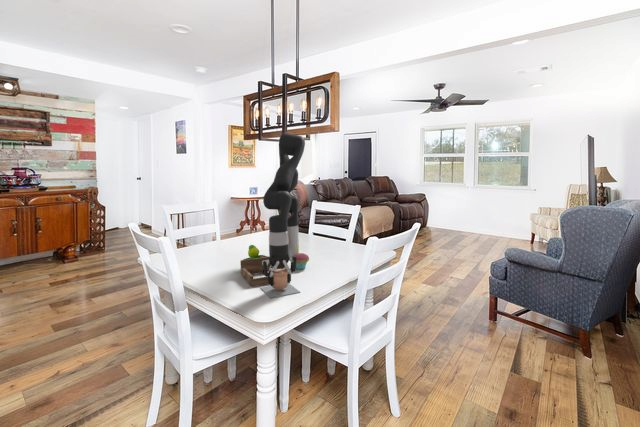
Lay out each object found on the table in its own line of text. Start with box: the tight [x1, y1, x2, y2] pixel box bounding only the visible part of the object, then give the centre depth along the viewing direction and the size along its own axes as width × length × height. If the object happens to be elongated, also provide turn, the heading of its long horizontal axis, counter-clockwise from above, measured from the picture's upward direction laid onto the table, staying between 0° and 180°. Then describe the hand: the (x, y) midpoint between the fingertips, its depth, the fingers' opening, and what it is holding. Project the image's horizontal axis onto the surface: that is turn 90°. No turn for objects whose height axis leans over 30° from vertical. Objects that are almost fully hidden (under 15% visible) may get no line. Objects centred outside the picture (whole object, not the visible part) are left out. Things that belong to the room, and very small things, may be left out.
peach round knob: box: [272, 269, 288, 289], centre depth 132 cm, size 7×7×6 cm
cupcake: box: [293, 243, 310, 270], centre depth 162 cm, size 9×8×12 cm
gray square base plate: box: [260, 283, 301, 299], centre depth 132 cm, size 12×12×1 cm
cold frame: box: [240, 256, 284, 288], centre depth 148 cm, size 17×17×7 cm
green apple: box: [242, 244, 269, 260], centre depth 162 cm, size 11×9×11 cm
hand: (279, 284), depth 132 cm, fingers closed on peach round knob, 6 cm apart
